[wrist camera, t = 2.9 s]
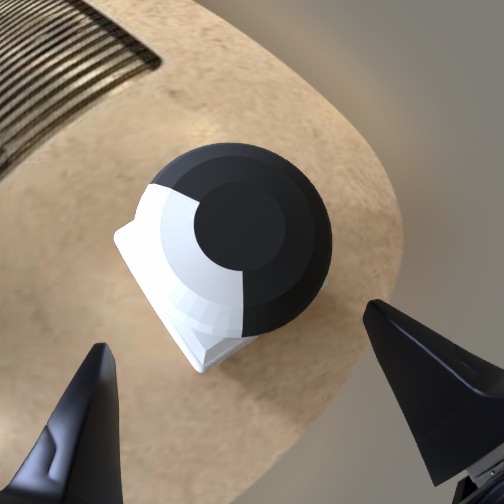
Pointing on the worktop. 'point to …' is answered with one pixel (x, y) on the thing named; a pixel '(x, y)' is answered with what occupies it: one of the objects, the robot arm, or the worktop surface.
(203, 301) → the medicine bottle
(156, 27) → the worktop surface
